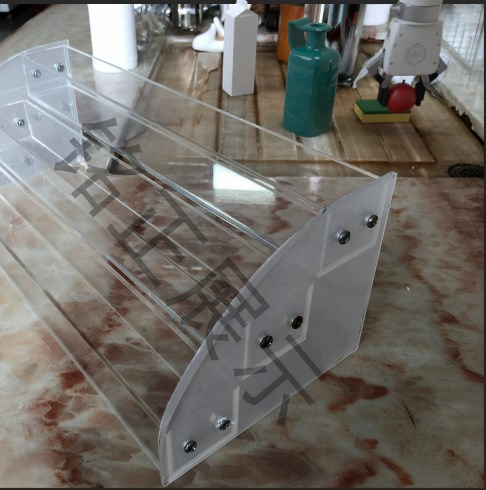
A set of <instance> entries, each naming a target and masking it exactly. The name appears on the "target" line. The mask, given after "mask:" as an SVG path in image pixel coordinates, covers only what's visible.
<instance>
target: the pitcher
mask: <svg viewBox="0 0 486 490" xmlns="http://www.w3.org/2000/svg"><path fill="white" fill-rule="evenodd" d="M332 29H333V28H332V25H331V24H328V23H325V22H312V21H311V18H309V17H308V16H304V17H300V18H298V19H297V18H296V19H294V20H289V21H287V43H288V47H289V50H290V52H289V54H288V57H287V67H286V68H287V69H286V77H285V78H286V79H285V89H284V102H283V111H282V114H283V115H282V122H281V126H282V127H281V128H282V129H283V130H285V131H288V132H290V133H293V134H295V135H297V136H300V137H303V138H315V137H316V136H319V135H321V134H323V133H327V132H329V131H330V130H331V129H332V123H333V122H332V121H333V116H334V115H333V114H334V108H335V101H336V94H337V87H338V79H339V72H340V64H341V54H340V52H339V50H337V49H336V48H333V47H330V46H327V44H326V40H327V32H330V31H331V30H332ZM306 33H307V35H306Z"/></svg>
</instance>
